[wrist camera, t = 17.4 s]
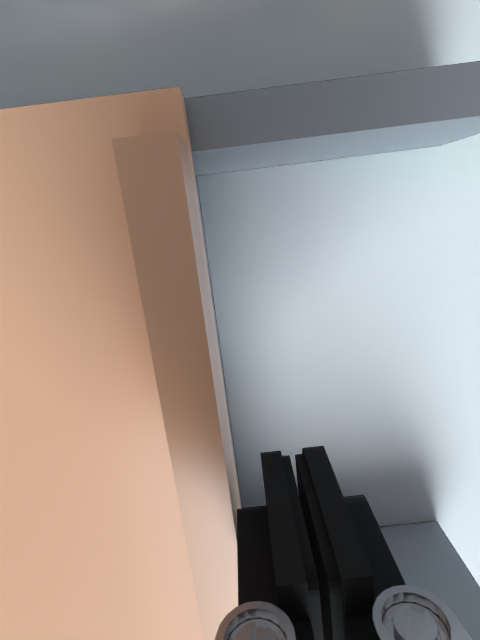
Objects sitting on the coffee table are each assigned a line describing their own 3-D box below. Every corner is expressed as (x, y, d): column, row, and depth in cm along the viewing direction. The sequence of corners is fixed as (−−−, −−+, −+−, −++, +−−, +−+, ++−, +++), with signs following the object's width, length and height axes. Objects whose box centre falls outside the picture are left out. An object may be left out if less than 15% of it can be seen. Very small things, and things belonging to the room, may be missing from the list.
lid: (184, 95, 10) (165, 56, 7) (269, 713, 15) (276, 815, 12) (-231, 148, 10) (-391, 128, 7) (-1, 740, 15) (-49, 846, 13)
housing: (440, 112, 16) (576, 48, 10) (436, 540, 21) (522, 681, 15) (-129, 184, 16) (-359, 167, 10) (6, 586, 22) (-89, 742, 15)
